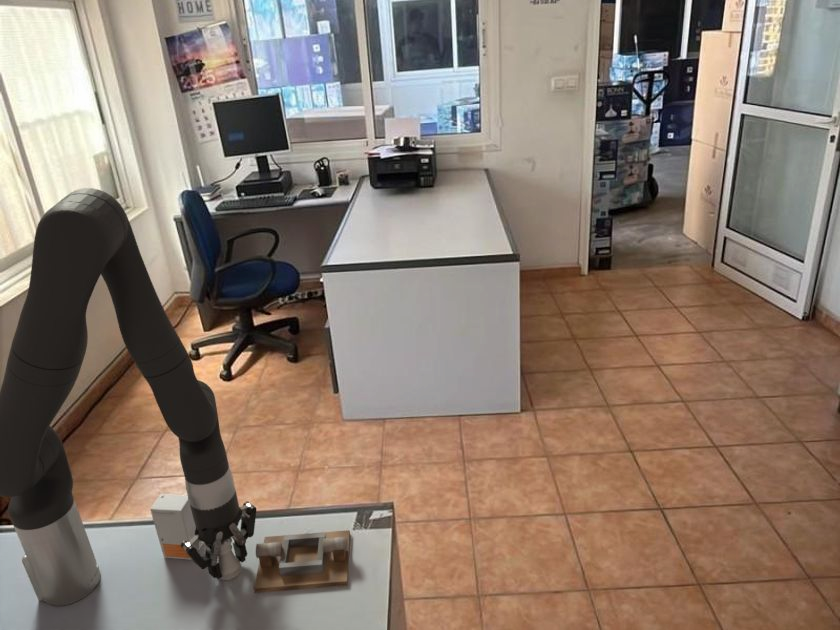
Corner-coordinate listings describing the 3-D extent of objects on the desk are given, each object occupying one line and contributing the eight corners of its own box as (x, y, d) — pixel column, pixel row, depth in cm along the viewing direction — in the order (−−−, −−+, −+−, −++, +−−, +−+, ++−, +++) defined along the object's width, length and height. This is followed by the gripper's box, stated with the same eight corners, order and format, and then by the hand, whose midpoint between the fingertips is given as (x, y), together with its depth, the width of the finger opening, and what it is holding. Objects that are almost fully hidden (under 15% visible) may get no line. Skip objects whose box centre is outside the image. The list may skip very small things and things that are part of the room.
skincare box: (163, 559, 119) (148, 509, 114) (174, 541, 123) (160, 492, 117) (194, 561, 118) (180, 510, 113) (204, 543, 122) (191, 494, 117)
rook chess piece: (235, 583, 113) (227, 549, 109) (212, 580, 114) (203, 546, 110) (246, 563, 117) (239, 530, 113) (223, 560, 118) (215, 527, 114)
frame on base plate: (254, 592, 111) (250, 572, 109) (265, 540, 122) (261, 521, 120) (347, 585, 111) (344, 565, 109) (350, 534, 122) (347, 514, 120)
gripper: (184, 527, 100) (205, 604, 107) (260, 479, 110) (274, 554, 117) (160, 505, 105) (182, 581, 112) (235, 462, 114) (250, 534, 122)
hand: (229, 567), depth 114 cm, fingers closed on rook chess piece, 4 cm apart
